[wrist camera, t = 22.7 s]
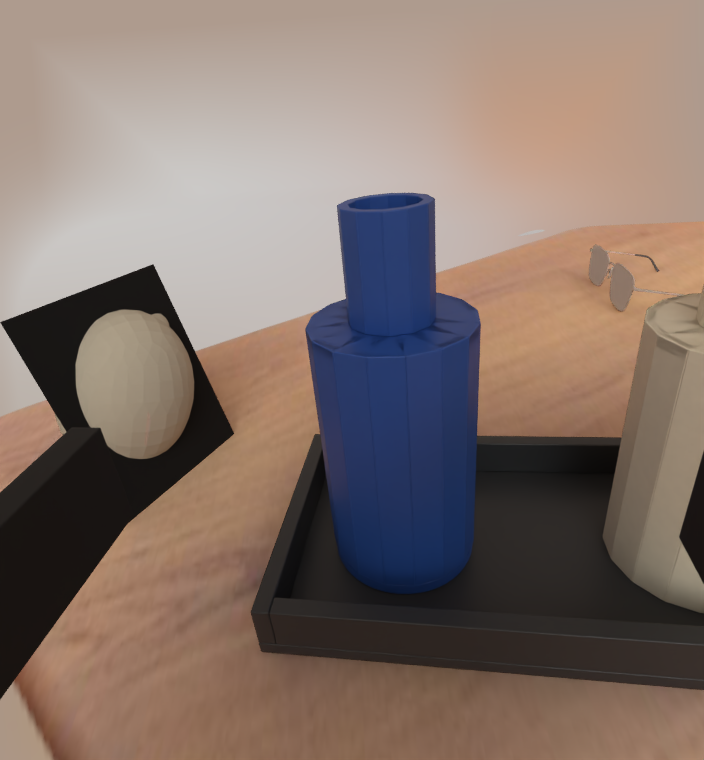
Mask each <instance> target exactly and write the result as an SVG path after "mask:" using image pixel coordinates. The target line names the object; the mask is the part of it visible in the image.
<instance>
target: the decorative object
mask: <svg viewBox="0 0 704 760" xmlns="http://www.w3.org/2000/svg"><path fill="white" fill-rule="evenodd" d="M1 324H2V326H3V328H4V329H5V331H6V333H7V334H8V336H9V338H10V339H11V341H12V342H13V344H14V345H15V347H16V349H17V351H18V352H19V354H20V356H21V357H22V359H23V361H24V362H25V364H26V366H27V367H28V369H29V371H30V372H31V374H32V376H33V377H34V379H35V381H36V382H37V384H38V386H39V387H40V389H41V390H42V392H43V394H44V396H45V397H46V399H47V401H48V402H49V404H50V406H51V407H52V409H53V411H54V412H55V417H56V420H57V423H58V425H59V428H60V431H61V433H62V434H63V435H64V434H65V433H66V432H67V431H68V430H69V429H71V428H72V427H85V428H101V431H102V433H103V436H104V438H105V441H106V444H107V446H108V449H109V451H110V454H111V456H112V459H113V462H114V464H115V467H116V469H117V472H118V474H119V477H120V480H121V482H122V485H123V487H124V490H125V492H126V495H127V498H128V500H129V503H130V505H131V508H132V510H133V513H134V515H133V517H132V518H131V519H130V521H131V520H132V519H133V518H134V517H136V516H137V515H138V514H139V513H140V512H142V511H143V510H144V509H145V508H146V507H148V506H149V505H150V504H151V503H152V502H153V501H155V500H156V499H157V498H158V497H159V496H161V495H162V494H163V493H164V492H165V491H167V490H168V489H169V488H170V487H171V486H173V485H174V484H175V483H176V482H177V481H179V480H180V479H181V478H182V477H183V476H184V475H186V474H187V473H188V472H189V471H190V470H192V469H193V468H194V467H195V466H196V465H198V464H199V463H200V462H201V461H202V460H204V459H205V458H206V457H207V456H208V455H209V454H211V453H212V452H213V451H214V450H215V449H217V448H218V447H219V446H220V445H221V444H223V443H224V442H225V441H226V440H227V439H229V438H230V437H231V436H232V435H233V434H234V432H233V430H232V428H231V426H230V424H229V422H228V420H227V418H226V416H225V414H224V411H223V409H222V407H221V405H220V403H219V401H218V399H217V397H216V395H215V393H214V391H213V388H212V386H211V384H210V382H209V380H208V378H207V376H206V374H205V372H204V370H203V367H202V365H201V363H200V361H199V359H198V357H197V355H196V353H195V351H194V349H193V347H192V344H191V342H190V340H189V338H188V336H187V334H186V332H185V330H184V328H183V326H182V323H181V322H180V319H179V317H178V315H177V313H176V311H175V309H174V307H173V305H172V303H171V301H170V299H169V296H168V294H167V292H166V290H165V288H164V286H163V284H162V282H161V280H160V277H159V276H158V273H157V271H156V269H155V267H154V265H150V266H147V267H145V268H142V269H139V270H137V271H134V272H132V273H129V274H127V275H124V276H121V277H118V278H116V279H113V280H111V281H108V282H106V283H103V284H100V285H97V286H95V287H92V288H90V289H87V290H84V291H82V292H79V293H76V294H74V295H71V296H68V297H66V298H63V299H61V300H58V301H56V302H53V303H50V304H47V305H45V306H42V307H39V308H37V309H34V310H32V311H29V312H26V313H24V314H21V315H18V316H16V317H13V318H10V319H8V320H5V321H3V322H1ZM130 521H129V522H130Z"/></svg>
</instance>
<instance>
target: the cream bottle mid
mask: <svg viewBox="0 0 704 760" xmlns="http://www.w3.org/2000/svg"><path fill="white" fill-rule="evenodd" d="M703 451H704V285H703V290H702V293H698V294H687V295H682V296H677V297H672V298H667V299H664V300H662V301H660V302H658V303H656V304H654V305H653V306H651V307H649V308H648V309H647V311H646V316H645V320H644V326H643V331H642V336H641V341H640V346H639V351H638V356H637V362H636V367H635V372H634V377H633V382H632V387H631V392H630V398H629V403H628V408H627V413H626V418H625V423H624V428H623V433H622V439H621V444H620V449H619V454H618V459H617V464H616V469H615V475H614V480H613V485H612V490H611V495H610V500H609V505H608V511H607V516H606V521H605V526H604V531H603V540H604V542H605V545H606V548H607V550H608V553H609V555H610V558H611V559H612V561H613V562H614V563H615V564H616V565H617V566H618V567H619V568H620V569H621V570H622V571H623V573H624V574H625V575H626V576H627V577H628V578H629V579H630V580H631V581H632V582H633V583H635V584H637V585H638V586H640V587H642V588H643V589H645V590H646V591H648V592H650V593H651V594H653V595H655V596H656V597H658V598H660V599H661V600H663V601H665V602H668V603H671V604H674V605H677V606H680V607H683V608H687V609H690V610H693V611H696V612H699V613H704V584H703V582H702V580H701V578H700V576H699V574H698V573H697V571H696V569H695V567H694V565H693V563H692V561H691V559H690V557H689V555H688V554H687V552H686V550H685V548H684V546H683V544H682V542H681V540H680V538H679V535H680V532H681V528H682V525H683V521H684V518H685V514H686V511H687V507H688V504H689V500H690V497H691V493H692V490H693V486H694V483H695V479H696V476H697V472H698V469H699V465H700V462H701V458H702V455H703Z"/></svg>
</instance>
